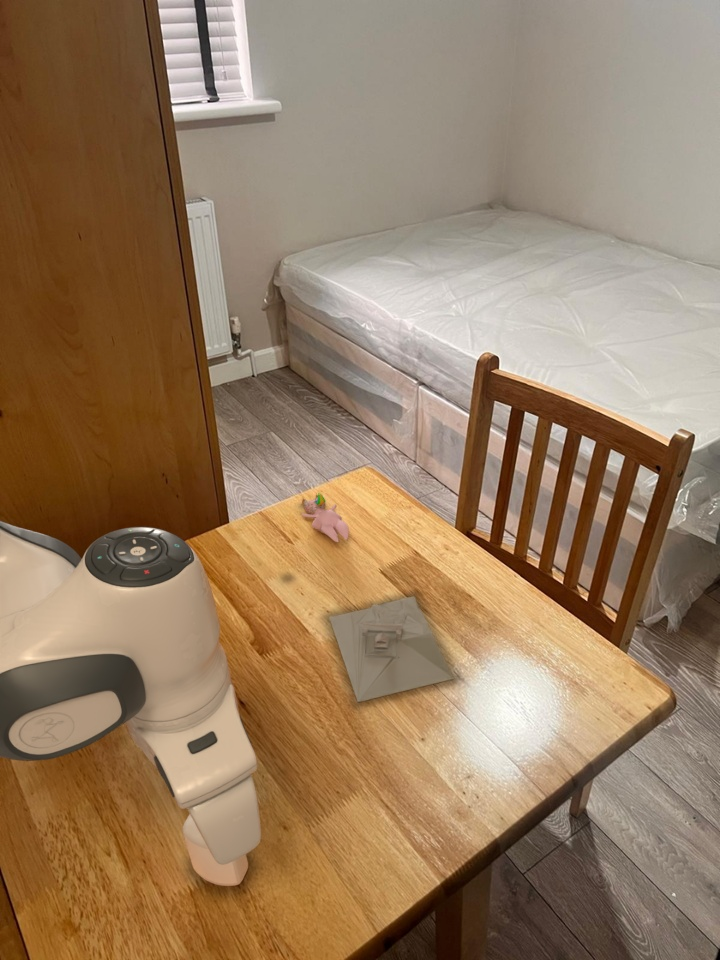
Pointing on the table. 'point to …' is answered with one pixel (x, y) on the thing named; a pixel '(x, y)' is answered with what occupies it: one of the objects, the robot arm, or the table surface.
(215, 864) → the eye dropper bottle
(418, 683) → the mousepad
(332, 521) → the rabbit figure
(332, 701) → the table surface
